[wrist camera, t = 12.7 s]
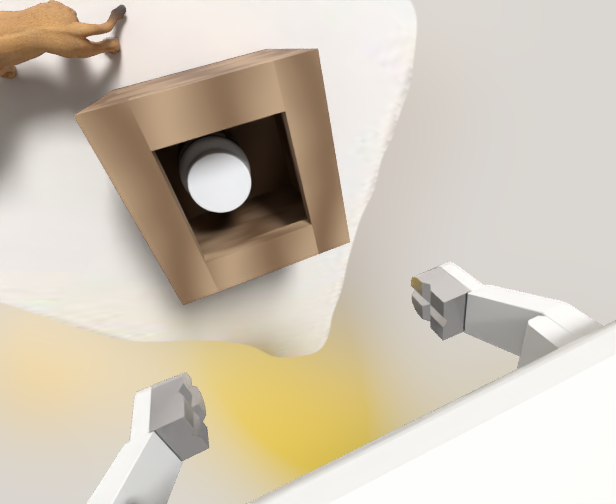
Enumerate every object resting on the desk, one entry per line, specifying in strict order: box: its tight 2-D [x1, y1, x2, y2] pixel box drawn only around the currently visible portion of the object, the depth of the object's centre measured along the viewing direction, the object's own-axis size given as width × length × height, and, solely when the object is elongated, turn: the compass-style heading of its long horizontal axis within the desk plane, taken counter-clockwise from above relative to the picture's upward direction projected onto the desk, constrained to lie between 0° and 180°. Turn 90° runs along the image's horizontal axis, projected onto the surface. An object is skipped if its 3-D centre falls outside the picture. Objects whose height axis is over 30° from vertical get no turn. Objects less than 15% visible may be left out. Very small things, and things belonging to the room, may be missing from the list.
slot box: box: [74, 49, 350, 305], centre depth 29 cm, size 14×14×14 cm
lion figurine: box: [0, 0, 126, 79], centre depth 23 cm, size 15×5×9 cm, turn 110°
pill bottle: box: [178, 129, 251, 213], centre depth 29 cm, size 6×6×10 cm
